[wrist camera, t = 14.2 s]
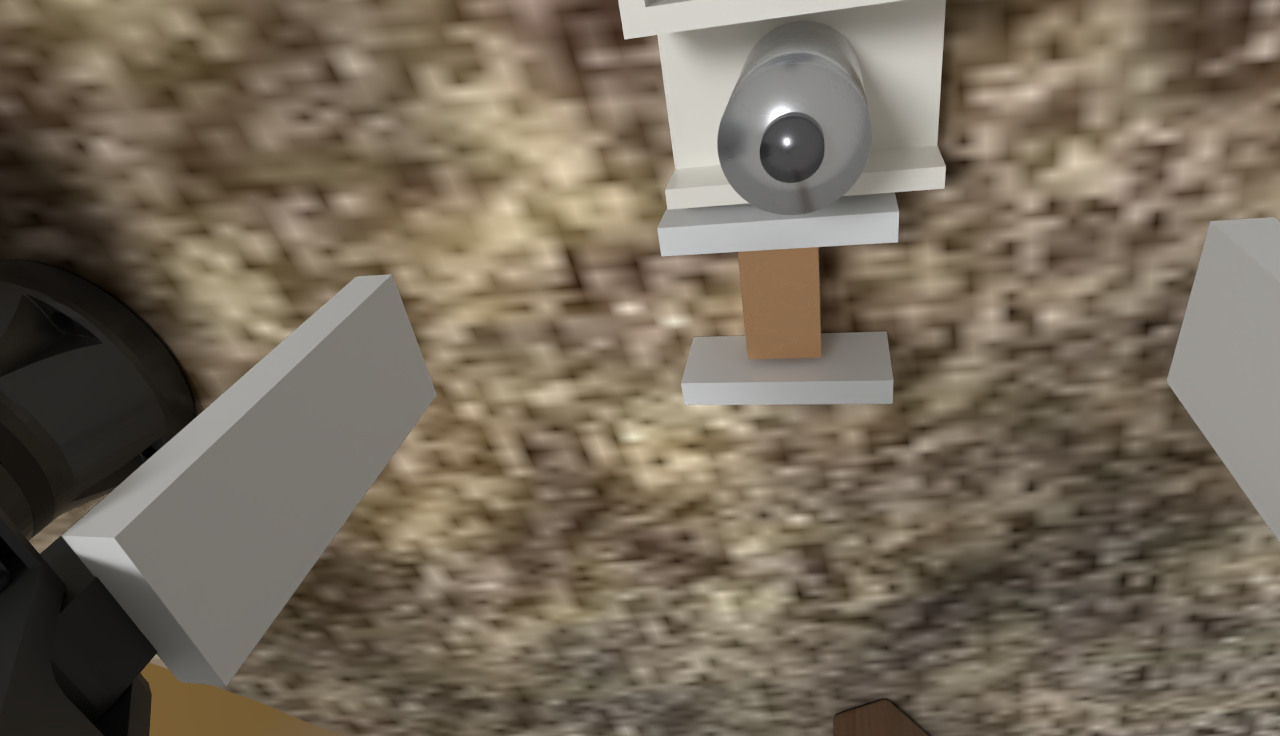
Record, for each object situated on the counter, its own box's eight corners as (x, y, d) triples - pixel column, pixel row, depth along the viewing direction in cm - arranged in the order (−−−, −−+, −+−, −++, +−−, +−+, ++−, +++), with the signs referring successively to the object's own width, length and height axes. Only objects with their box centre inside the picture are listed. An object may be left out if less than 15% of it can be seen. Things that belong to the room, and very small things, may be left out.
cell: (742, 148, 29) (719, 228, 22) (736, 27, 26) (708, 77, 20) (858, 140, 28) (869, 222, 21) (863, 14, 25) (877, 62, 19)
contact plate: (752, 330, 35) (747, 359, 33) (743, 224, 32) (737, 248, 30) (821, 328, 34) (821, 357, 32) (818, 219, 31) (818, 243, 29)
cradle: (696, 357, 36) (684, 404, 33) (674, 192, 32) (657, 228, 29) (886, 353, 34) (892, 403, 31) (890, 174, 30) (899, 211, 26)
